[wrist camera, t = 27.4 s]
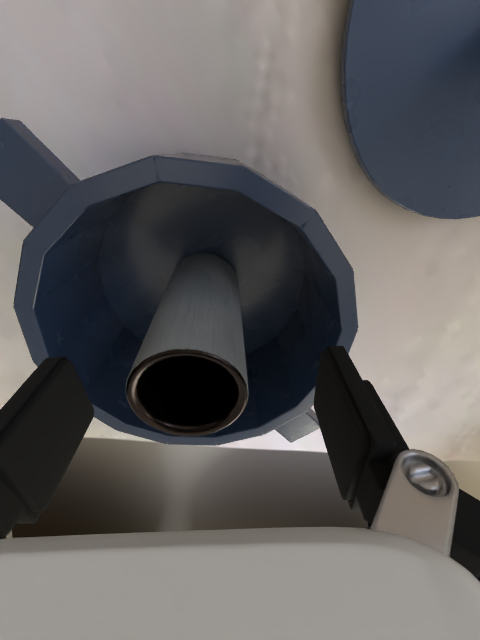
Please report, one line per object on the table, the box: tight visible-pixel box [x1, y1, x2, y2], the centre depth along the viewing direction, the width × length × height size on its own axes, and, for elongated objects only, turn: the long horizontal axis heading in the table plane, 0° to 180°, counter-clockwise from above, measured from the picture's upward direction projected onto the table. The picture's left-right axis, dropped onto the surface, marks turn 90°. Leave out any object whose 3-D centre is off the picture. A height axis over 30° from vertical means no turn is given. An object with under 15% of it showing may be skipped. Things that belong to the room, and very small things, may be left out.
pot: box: [0, 118, 358, 445], centre depth 16 cm, size 15×21×8 cm
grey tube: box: [126, 253, 248, 436], centre depth 15 cm, size 4×4×10 cm
